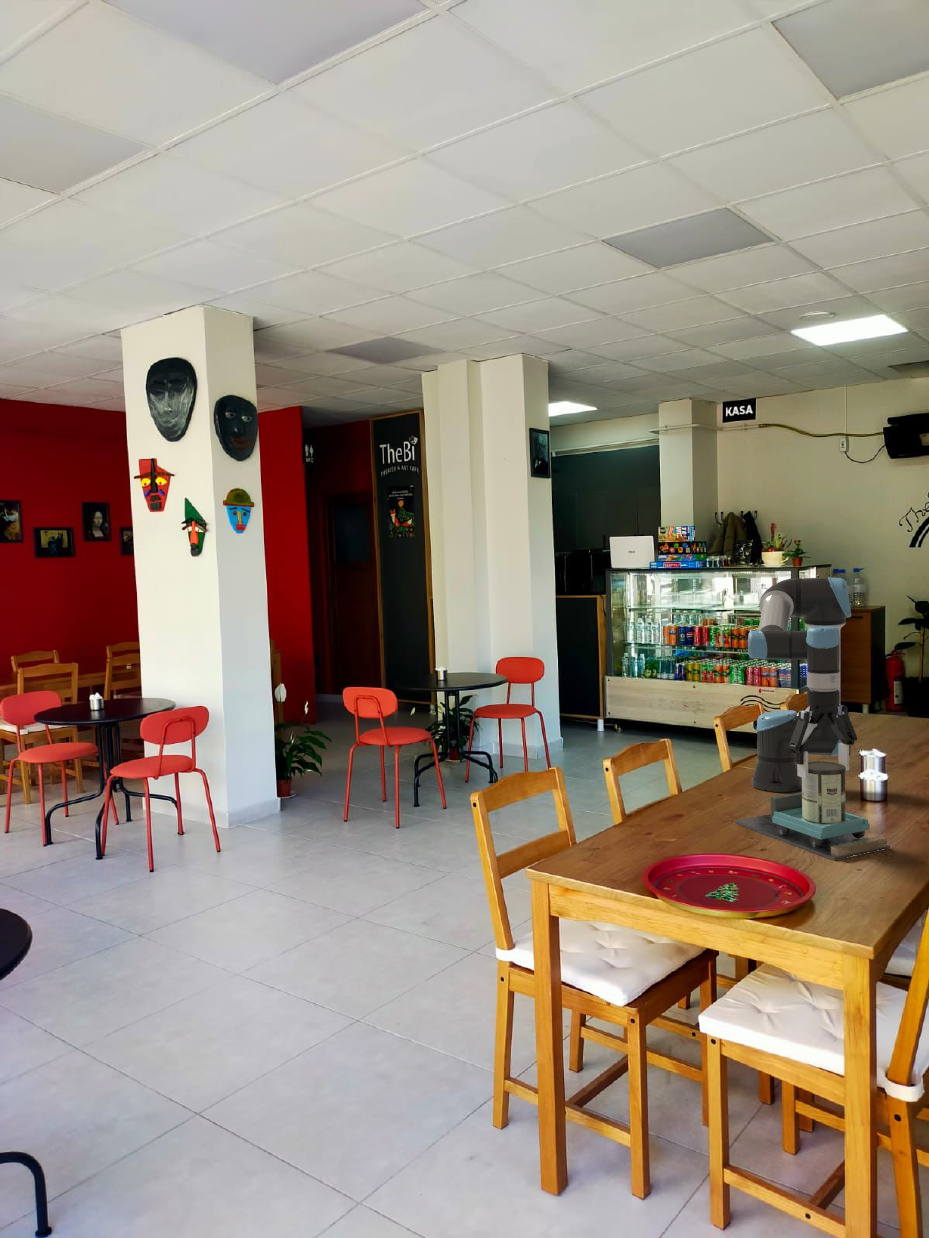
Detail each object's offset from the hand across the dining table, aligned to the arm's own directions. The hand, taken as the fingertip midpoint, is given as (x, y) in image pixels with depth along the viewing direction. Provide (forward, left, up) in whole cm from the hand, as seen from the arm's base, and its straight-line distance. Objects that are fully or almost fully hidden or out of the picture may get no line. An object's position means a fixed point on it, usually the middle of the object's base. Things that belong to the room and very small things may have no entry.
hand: (823, 773), depth 221 cm
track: (-5, 0, -17) cm, 18 cm away
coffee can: (0, 0, -12) cm, 12 cm away
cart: (-2, 0, -16) cm, 16 cm away
